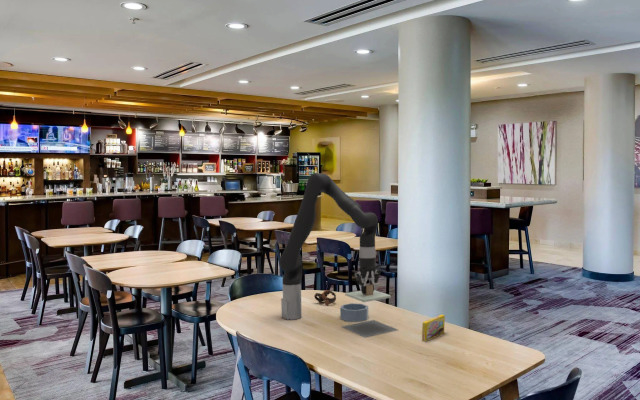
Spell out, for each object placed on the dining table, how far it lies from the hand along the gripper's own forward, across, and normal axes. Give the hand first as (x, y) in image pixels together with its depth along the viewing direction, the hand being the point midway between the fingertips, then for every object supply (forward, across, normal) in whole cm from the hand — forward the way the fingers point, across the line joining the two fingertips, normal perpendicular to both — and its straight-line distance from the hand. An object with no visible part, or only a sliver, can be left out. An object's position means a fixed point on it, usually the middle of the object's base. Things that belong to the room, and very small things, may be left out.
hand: (367, 293), depth 243 cm
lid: (+2, 0, 0) cm, 2 cm away
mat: (+17, 0, +1) cm, 17 cm away
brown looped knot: (+17, -7, -50) cm, 54 cm away
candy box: (+17, -17, +25) cm, 35 cm away
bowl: (+17, -4, -17) cm, 24 cm away
